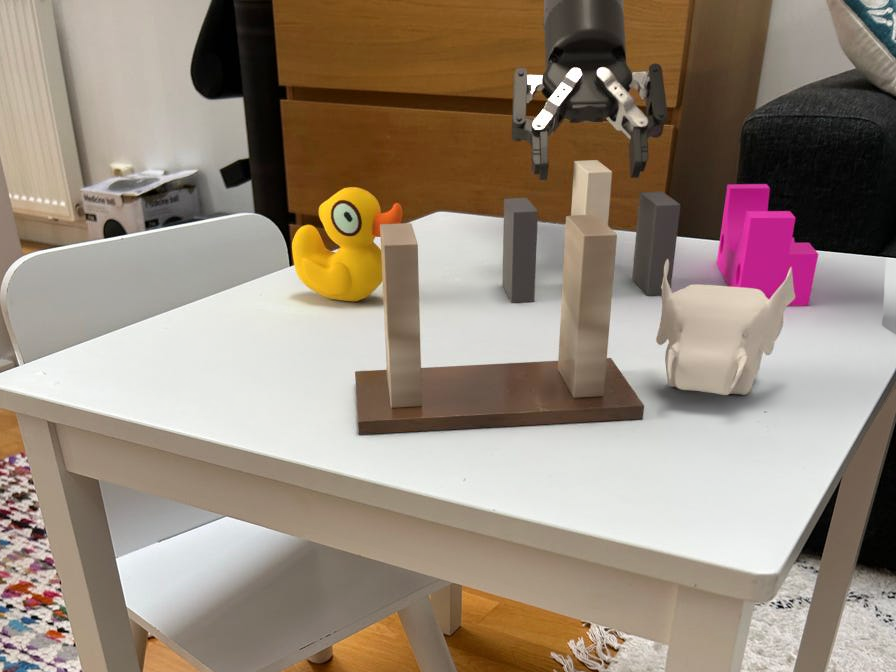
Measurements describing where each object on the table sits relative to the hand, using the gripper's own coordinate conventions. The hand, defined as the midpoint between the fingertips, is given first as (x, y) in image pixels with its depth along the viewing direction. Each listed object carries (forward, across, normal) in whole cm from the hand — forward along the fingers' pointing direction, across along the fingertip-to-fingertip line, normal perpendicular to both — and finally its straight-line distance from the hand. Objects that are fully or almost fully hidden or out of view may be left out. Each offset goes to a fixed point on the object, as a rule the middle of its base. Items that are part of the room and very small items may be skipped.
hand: (590, 173), depth 92 cm
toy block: (+8, +17, +7) cm, 20 cm away
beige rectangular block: (+8, 0, +6) cm, 10 cm away
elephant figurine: (+28, +6, -13) cm, 31 cm away
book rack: (+28, -10, -14) cm, 33 cm away
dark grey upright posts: (+8, 0, +6) cm, 10 cm away
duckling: (+9, -23, +5) cm, 25 cm away
